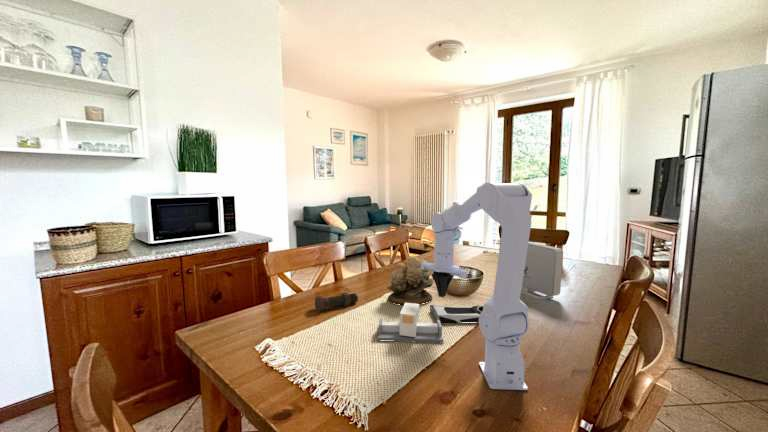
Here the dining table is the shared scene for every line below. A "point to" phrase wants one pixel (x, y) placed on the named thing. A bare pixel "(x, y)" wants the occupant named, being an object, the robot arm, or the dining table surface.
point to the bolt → (334, 301)
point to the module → (409, 319)
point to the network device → (542, 270)
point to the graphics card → (456, 313)
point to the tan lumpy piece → (410, 283)
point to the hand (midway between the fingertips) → (442, 296)
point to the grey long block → (423, 334)
